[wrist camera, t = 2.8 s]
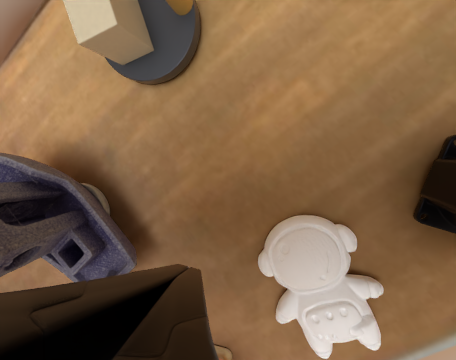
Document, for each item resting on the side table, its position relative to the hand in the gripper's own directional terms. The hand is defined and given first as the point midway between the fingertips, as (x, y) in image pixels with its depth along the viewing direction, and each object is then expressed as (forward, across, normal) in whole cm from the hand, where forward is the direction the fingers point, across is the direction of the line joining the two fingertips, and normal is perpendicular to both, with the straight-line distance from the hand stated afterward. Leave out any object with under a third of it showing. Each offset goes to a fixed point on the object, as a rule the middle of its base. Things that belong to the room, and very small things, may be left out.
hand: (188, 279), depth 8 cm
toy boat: (+13, -14, -5) cm, 20 cm away
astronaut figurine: (+13, +8, -6) cm, 16 cm away
